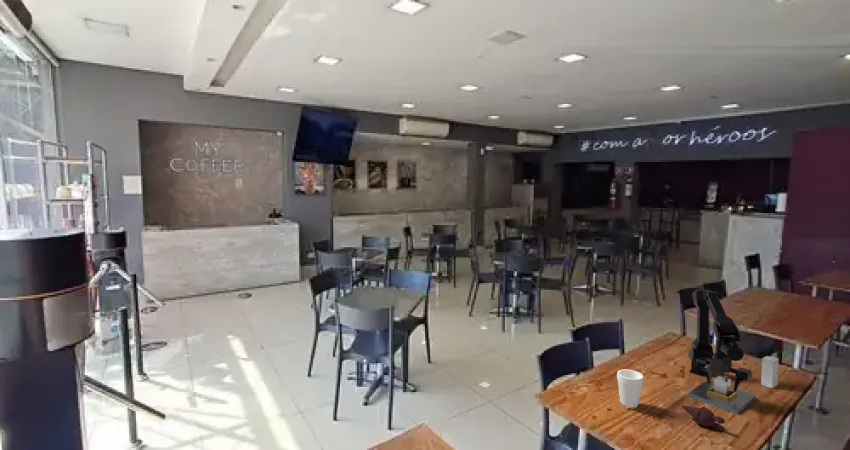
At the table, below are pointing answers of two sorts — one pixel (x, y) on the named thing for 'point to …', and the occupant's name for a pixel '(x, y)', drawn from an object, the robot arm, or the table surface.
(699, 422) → the icecream
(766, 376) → the skincare box
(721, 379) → the brushed metal block
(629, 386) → the foam cup
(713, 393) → the grey peg insertion board
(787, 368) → the table surface
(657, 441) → the table surface
